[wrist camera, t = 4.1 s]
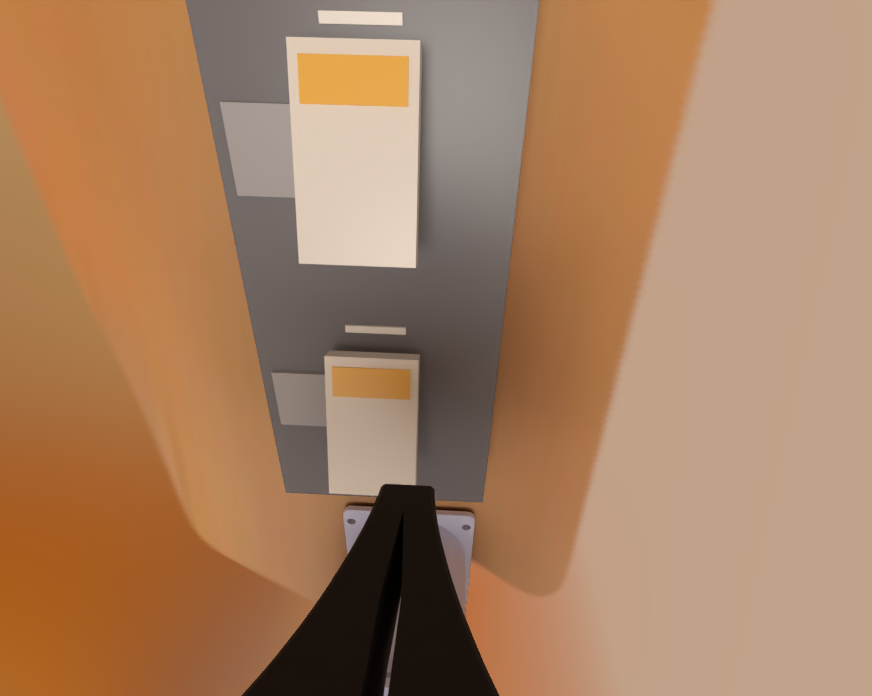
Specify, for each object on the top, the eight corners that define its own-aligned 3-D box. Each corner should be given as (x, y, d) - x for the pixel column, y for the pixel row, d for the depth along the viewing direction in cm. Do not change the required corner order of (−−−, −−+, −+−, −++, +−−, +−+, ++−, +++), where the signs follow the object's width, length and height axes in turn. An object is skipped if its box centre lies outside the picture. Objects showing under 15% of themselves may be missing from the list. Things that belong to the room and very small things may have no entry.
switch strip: (480, 459, 25) (482, 505, 22) (303, 451, 25) (284, 494, 22) (532, -59, 14) (551, -95, 11) (218, -65, 14) (161, -103, 11)
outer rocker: (417, 264, 14) (415, 268, 14) (307, 260, 14) (298, 264, 14) (422, 50, 13) (420, 39, 12) (295, 47, 13) (285, 35, 12)
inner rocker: (416, 486, 19) (414, 498, 18) (333, 482, 19) (328, 494, 19) (419, 354, 18) (418, 360, 17) (329, 350, 18) (323, 356, 17)
